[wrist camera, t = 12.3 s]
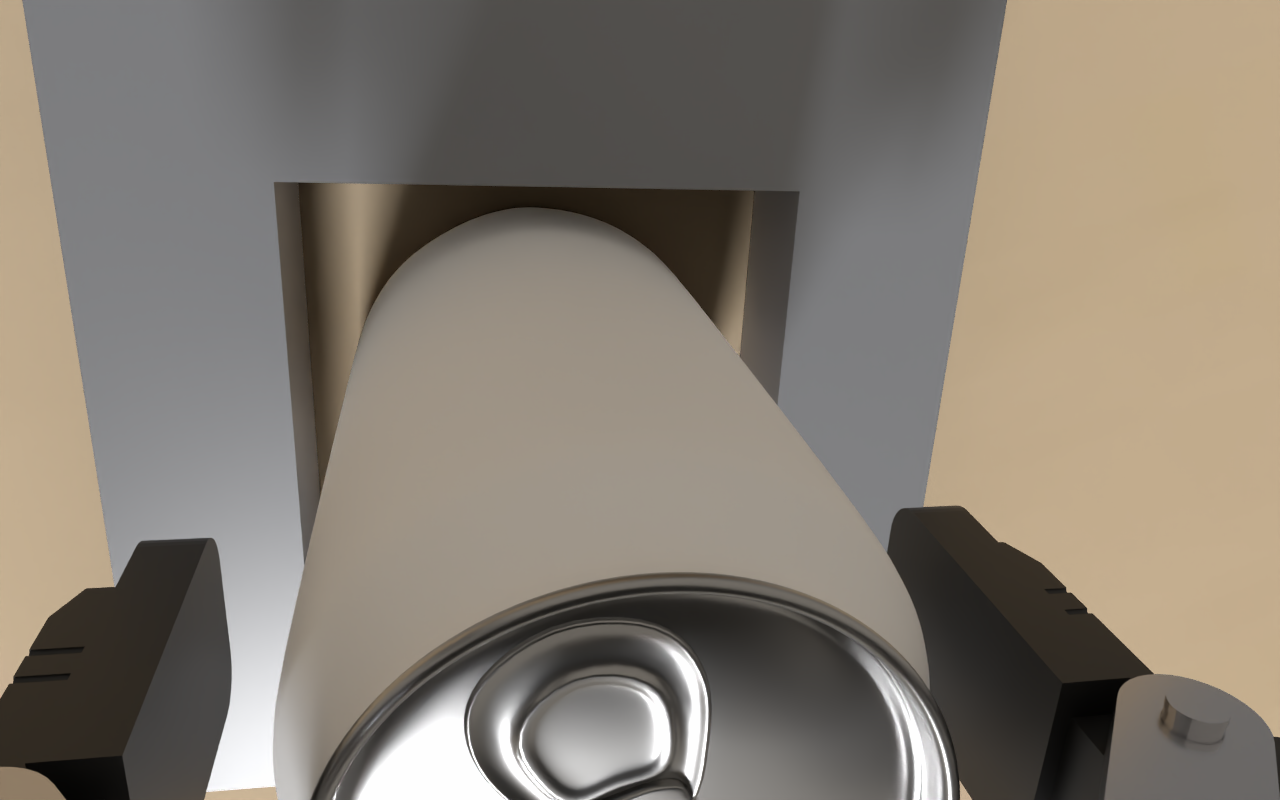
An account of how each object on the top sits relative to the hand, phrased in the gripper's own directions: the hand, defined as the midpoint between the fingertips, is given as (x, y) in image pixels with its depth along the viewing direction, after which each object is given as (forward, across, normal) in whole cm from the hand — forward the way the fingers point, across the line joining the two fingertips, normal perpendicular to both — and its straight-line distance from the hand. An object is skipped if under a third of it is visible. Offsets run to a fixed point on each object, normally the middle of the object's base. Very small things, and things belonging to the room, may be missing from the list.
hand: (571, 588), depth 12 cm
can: (+8, 0, 0) cm, 8 cm away
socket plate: (+8, 0, 0) cm, 8 cm away
